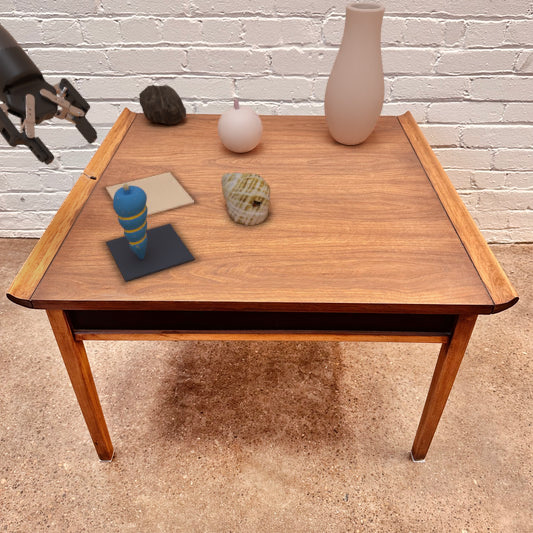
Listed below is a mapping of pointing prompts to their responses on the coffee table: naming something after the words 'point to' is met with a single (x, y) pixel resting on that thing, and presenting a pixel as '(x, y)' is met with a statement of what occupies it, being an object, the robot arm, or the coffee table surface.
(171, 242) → the slate mat
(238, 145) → the ornament
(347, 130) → the vase
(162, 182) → the cream mat
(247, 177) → the seashell
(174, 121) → the rock
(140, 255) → the ornament
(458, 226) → the coffee table surface
